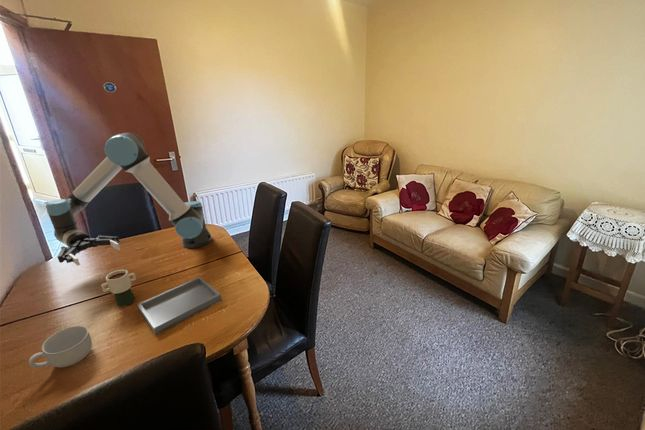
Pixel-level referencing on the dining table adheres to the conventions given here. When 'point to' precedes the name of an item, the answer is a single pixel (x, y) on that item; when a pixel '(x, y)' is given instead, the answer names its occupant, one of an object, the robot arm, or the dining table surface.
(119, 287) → the character mug
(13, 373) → the dining table surface
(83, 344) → the teacup
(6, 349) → the dining table surface
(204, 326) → the dining table surface
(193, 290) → the tray
